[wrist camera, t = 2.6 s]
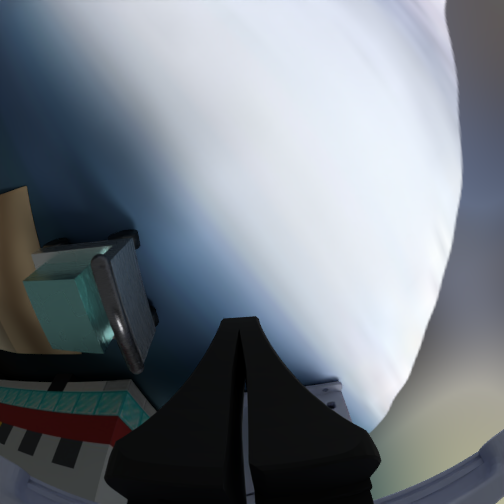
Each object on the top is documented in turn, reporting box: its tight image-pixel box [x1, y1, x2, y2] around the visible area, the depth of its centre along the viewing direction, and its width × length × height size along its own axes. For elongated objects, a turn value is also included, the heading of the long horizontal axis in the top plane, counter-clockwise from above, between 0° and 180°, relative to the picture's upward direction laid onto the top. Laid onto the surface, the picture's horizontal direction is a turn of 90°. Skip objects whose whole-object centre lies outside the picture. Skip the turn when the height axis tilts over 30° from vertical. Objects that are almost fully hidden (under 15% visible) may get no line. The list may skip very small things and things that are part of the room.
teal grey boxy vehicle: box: [23, 230, 159, 374], centre depth 14 cm, size 7×7×5 cm
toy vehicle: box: [0, 373, 157, 504], centre depth 15 cm, size 8×30×15 cm, turn 105°
